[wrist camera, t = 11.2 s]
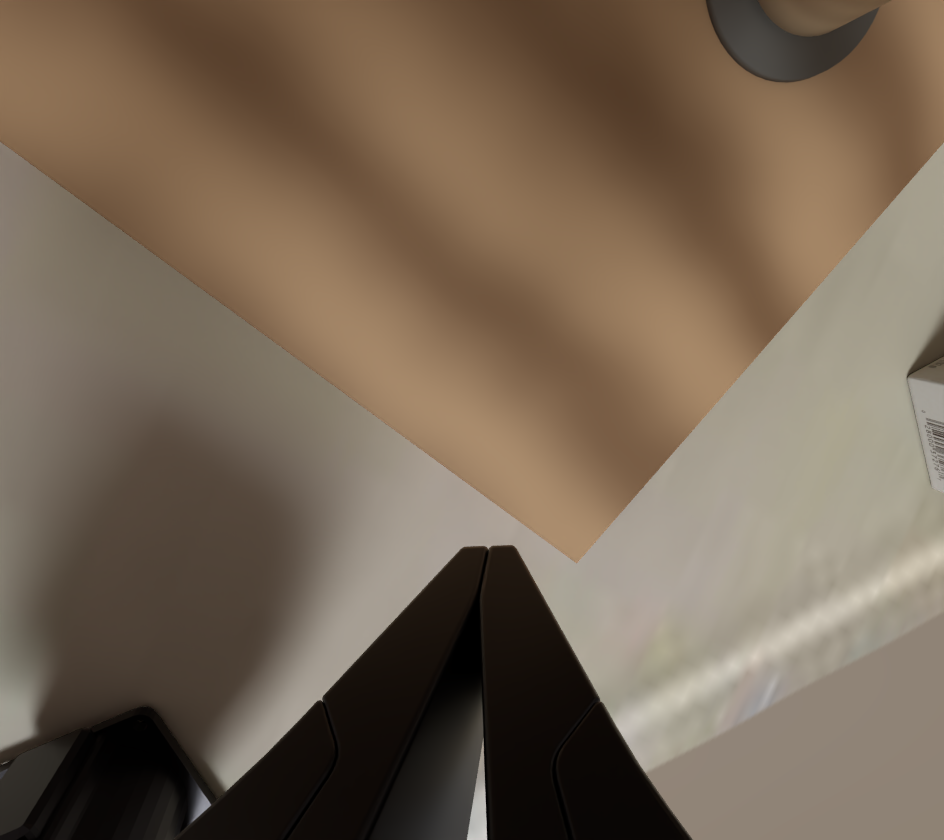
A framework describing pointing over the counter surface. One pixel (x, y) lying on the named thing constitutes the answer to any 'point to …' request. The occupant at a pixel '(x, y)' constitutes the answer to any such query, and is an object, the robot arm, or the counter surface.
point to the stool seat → (490, 198)
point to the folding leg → (816, 14)
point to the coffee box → (930, 417)
